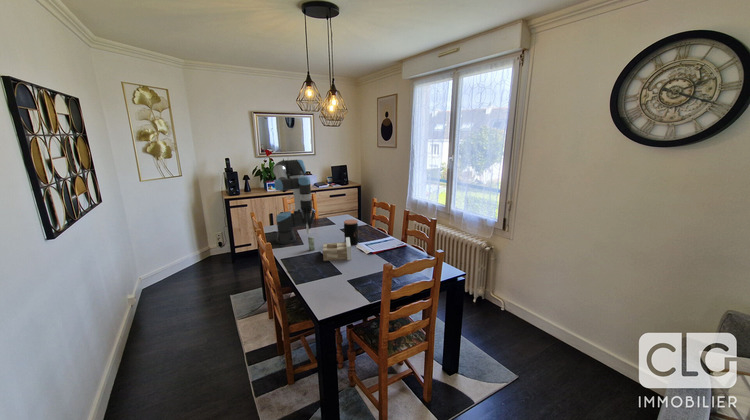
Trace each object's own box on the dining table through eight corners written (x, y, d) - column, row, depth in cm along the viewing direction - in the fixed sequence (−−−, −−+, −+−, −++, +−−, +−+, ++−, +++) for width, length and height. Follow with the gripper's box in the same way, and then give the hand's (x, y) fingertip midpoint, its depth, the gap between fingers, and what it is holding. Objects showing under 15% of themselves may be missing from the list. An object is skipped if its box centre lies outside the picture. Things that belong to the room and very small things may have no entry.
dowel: (309, 249, 217) (308, 236, 215) (314, 248, 218) (313, 236, 215) (309, 251, 214) (307, 238, 211) (314, 251, 214) (313, 238, 211)
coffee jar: (356, 246, 221) (355, 223, 216) (343, 245, 223) (341, 223, 219) (360, 241, 231) (359, 219, 227) (347, 240, 233) (346, 219, 229)
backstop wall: (346, 250, 214) (345, 237, 212) (350, 249, 215) (349, 237, 212) (347, 260, 197) (346, 246, 194) (351, 260, 197) (350, 246, 195)
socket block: (324, 252, 210) (323, 243, 208) (346, 251, 212) (345, 242, 210) (323, 260, 197) (322, 251, 195) (347, 258, 199) (346, 249, 197)
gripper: (294, 200, 194) (297, 233, 200) (311, 201, 190) (314, 235, 196) (300, 197, 200) (303, 230, 207) (317, 199, 196) (319, 231, 203)
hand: (308, 232), depth 201 cm, fingers closed
